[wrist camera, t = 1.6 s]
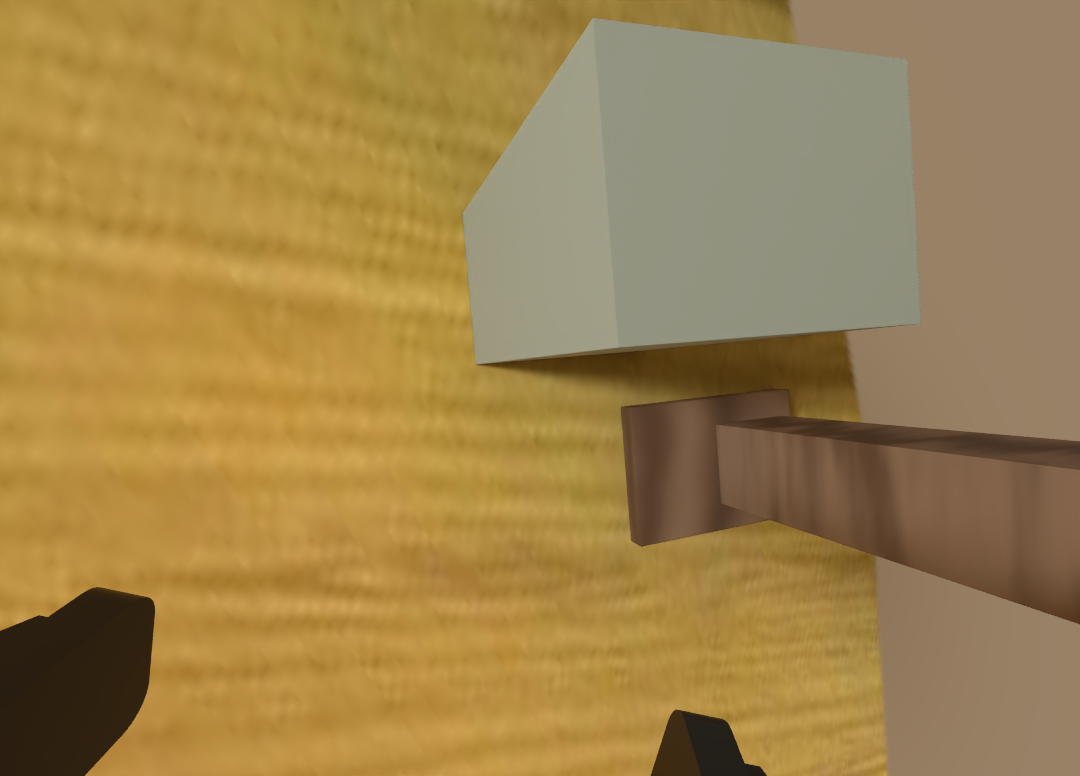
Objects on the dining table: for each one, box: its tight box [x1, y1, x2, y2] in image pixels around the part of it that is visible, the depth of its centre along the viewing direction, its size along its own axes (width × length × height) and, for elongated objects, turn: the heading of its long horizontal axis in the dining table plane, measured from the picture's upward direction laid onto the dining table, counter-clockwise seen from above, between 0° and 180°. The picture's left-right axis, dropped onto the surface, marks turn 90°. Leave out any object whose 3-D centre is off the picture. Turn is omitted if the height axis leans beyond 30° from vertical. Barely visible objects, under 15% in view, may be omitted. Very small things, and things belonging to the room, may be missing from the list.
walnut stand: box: [621, 389, 1080, 624], centre depth 28 cm, size 14×10×32 cm
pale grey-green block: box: [463, 18, 921, 364], centre depth 29 cm, size 13×10×21 cm
